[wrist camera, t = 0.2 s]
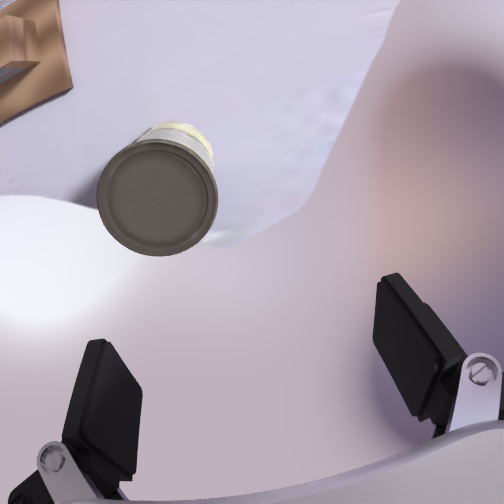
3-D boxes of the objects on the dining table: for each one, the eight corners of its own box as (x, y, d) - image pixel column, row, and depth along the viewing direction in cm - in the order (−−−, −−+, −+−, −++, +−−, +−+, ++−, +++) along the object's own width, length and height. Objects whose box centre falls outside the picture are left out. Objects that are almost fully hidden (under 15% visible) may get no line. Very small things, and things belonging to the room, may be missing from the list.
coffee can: (212, 201, 40) (215, 258, 28) (132, 200, 39) (102, 255, 27) (217, 121, 35) (222, 141, 23) (132, 120, 34) (92, 141, 22)
